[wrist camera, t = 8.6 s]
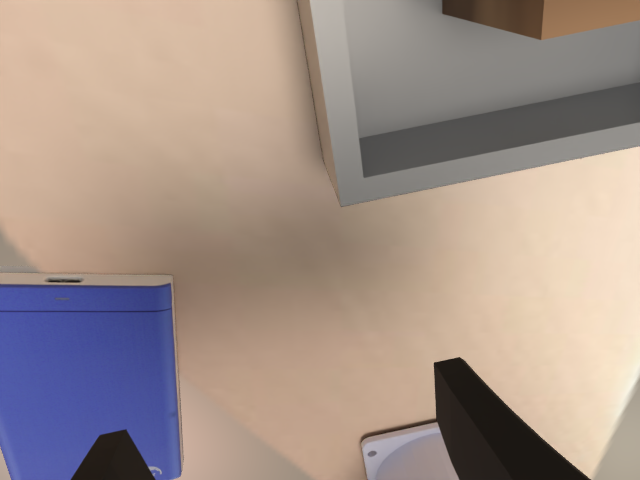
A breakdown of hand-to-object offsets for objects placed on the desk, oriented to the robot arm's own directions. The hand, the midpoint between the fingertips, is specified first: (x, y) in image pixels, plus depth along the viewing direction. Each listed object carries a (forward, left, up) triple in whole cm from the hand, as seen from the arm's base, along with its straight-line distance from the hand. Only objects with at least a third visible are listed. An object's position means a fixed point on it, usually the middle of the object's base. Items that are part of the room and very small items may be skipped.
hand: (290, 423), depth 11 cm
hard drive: (-6, +10, -10) cm, 16 cm away
